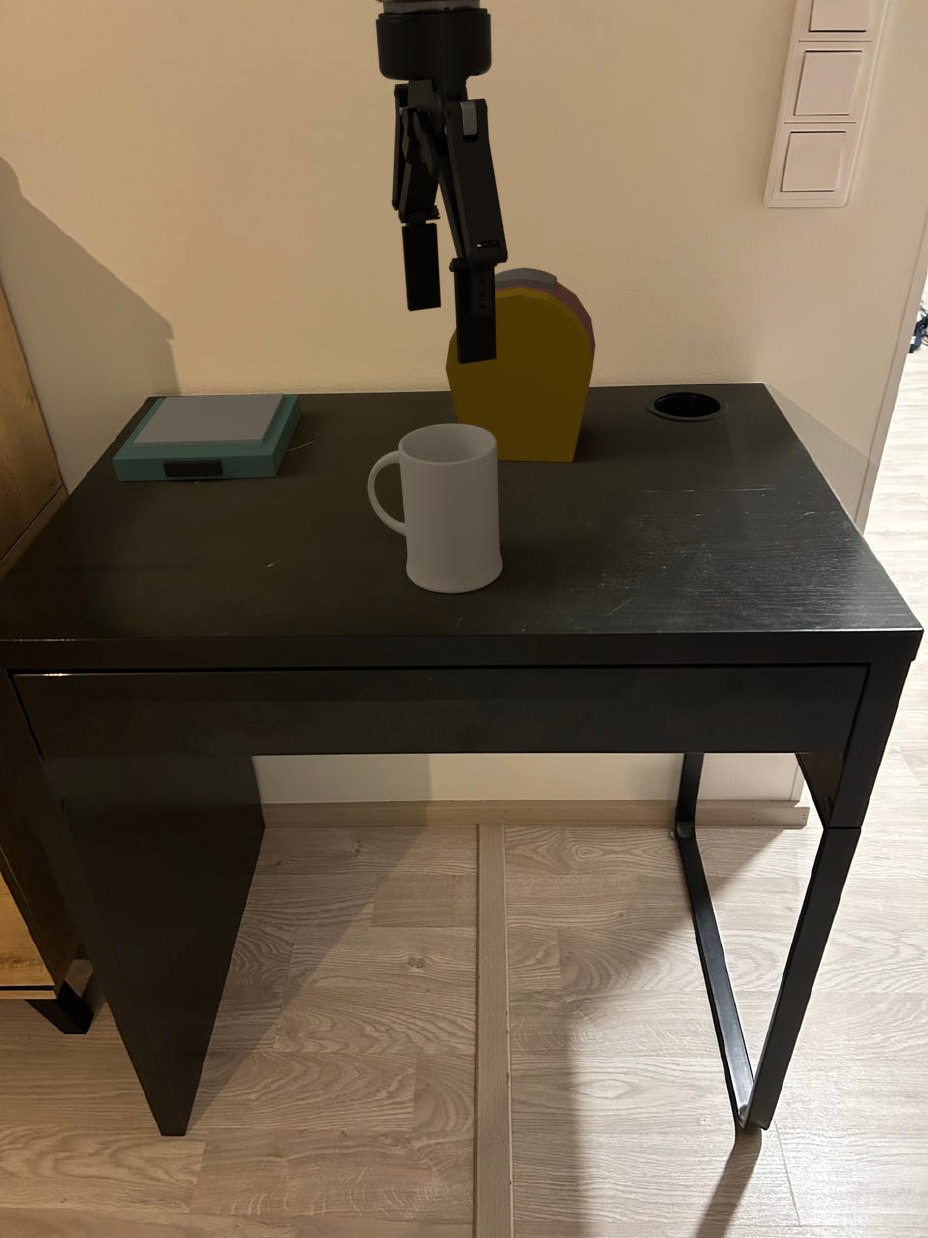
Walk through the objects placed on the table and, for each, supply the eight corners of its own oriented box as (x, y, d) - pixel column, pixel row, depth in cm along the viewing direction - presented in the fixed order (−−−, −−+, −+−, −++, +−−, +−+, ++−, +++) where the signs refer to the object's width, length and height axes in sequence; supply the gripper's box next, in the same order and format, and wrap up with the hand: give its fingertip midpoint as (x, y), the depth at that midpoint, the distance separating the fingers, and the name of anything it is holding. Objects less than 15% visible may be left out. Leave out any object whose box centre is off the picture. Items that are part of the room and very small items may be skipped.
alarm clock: (592, 431, 108) (598, 262, 97) (589, 462, 101) (595, 285, 91) (461, 428, 110) (454, 263, 99) (450, 458, 103) (441, 285, 93)
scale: (116, 484, 101) (108, 456, 100) (163, 418, 116) (157, 393, 114) (274, 479, 101) (269, 451, 99) (301, 414, 115) (298, 388, 113)
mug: (356, 576, 84) (341, 450, 77) (401, 531, 90) (390, 411, 84) (479, 602, 80) (474, 472, 73) (517, 553, 86) (515, 429, 79)
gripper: (561, 7, 53) (556, 378, 65) (433, -1, 72) (447, 284, 84) (431, 15, 51) (451, 395, 63) (336, 4, 71) (364, 295, 83)
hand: (448, 332), depth 74 cm, fingers open, 13 cm apart
